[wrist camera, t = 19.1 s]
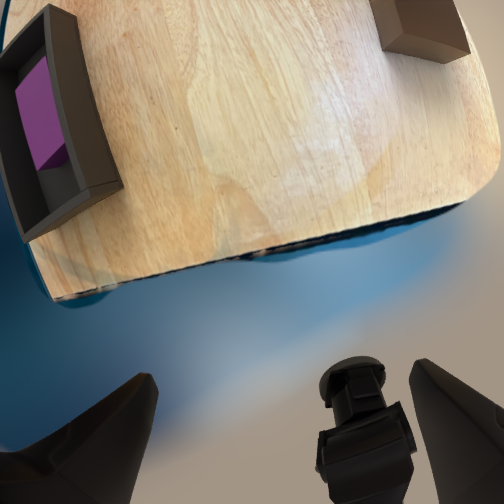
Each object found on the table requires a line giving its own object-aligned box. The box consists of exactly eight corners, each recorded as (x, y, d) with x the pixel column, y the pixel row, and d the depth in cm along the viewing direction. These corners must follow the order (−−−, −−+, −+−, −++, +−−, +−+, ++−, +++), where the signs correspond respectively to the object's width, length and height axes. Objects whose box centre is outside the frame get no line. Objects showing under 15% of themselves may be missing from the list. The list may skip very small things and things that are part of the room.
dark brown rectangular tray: (124, 187, 19) (91, 197, 15) (55, 229, 21) (23, 244, 17) (76, 16, 14) (48, 2, 9) (16, 71, 15) (-12, 68, 11)
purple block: (93, 137, 17) (66, 61, 15) (69, 137, 15) (45, 55, 12) (60, 167, 18) (36, 92, 16) (37, 171, 16) (14, 90, 13)
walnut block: (444, 64, 14) (471, 53, 10) (382, 50, 14) (403, 32, 10) (427, 8, 12) (449, -9, 8) (366, -7, 12) (381, -31, 8)
